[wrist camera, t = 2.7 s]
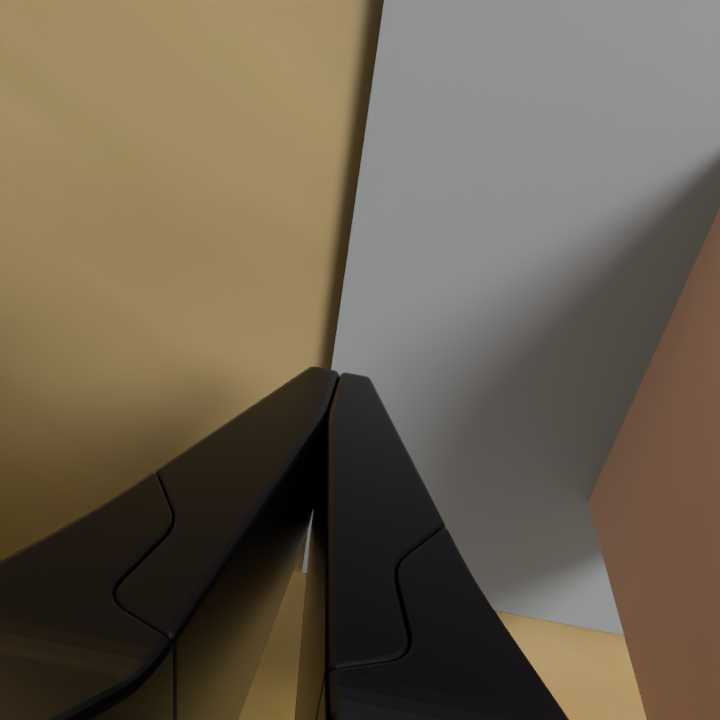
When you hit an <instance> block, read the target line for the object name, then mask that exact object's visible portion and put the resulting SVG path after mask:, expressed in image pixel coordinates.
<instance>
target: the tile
mask: <svg viewBox="0 0 720 720" xmlns="http://www.w3.org/2000/svg"><path fill="white" fill-rule="evenodd" d="M588 504H589V508H590V512H591V515H592V519H593V523H594V526H595V530H596V534H597V538H598V541H599V545H600V549H601V552H602V556H603V560H604V563H605V567H606V571H607V574H608V578H609V582H610V585H611V589H612V593H613V596H614V600H615V604H616V607H617V611H618V615H619V618H620V622H621V626H622V629H623V633H624V637H625V640H626V644H627V648H628V651H629V655H630V659H631V662H632V666H633V670H634V673H635V677H636V681H637V684H638V688H639V692H640V695H641V699H642V703H643V707H644V710H645V714H646V718H647V720H720V208H719V210H718V212H717V215H716V217H715V219H714V221H713V224H712V226H711V228H710V230H709V233H708V235H707V237H706V239H705V241H704V244H703V246H702V248H701V250H700V253H699V255H698V257H697V259H696V262H695V264H694V266H693V268H692V271H691V273H690V275H689V277H688V279H687V282H686V284H685V286H684V288H683V291H682V293H681V295H680V297H679V300H678V302H677V304H676V306H675V309H674V311H673V313H672V315H671V317H670V320H669V322H668V324H667V326H666V329H665V331H664V333H663V335H662V338H661V340H660V342H659V344H658V346H657V349H656V351H655V353H654V355H653V358H652V360H651V362H650V364H649V367H648V369H647V371H646V373H645V376H644V378H643V380H642V382H641V384H640V387H639V389H638V391H637V393H636V396H635V398H634V400H633V402H632V405H631V407H630V409H629V411H628V414H627V416H626V418H625V420H624V422H623V425H622V427H621V429H620V431H619V434H618V436H617V438H616V440H615V443H614V445H613V447H612V449H611V451H610V454H609V456H608V458H607V460H606V463H605V465H604V467H603V469H602V472H601V474H600V476H599V478H598V481H597V483H596V485H595V487H594V489H593V492H592V494H591V496H590V498H589V501H588Z"/></svg>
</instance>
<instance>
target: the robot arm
mask: <svg viewBox="0 0 720 720" xmlns="http://www.w3.org/2000/svg"><path fill="white" fill-rule="evenodd" d="M312 514H313V516H312ZM311 517H312V523H311V532H310V540H309V552H308V565H307V577H306V589H305V601H304V613H303V625H302V637H301V649H300V661H299V673H298V685H297V697H296V709H295V720H569V719H568V718H567V716H566V715H565V713H564V712H563V710H562V709H561V707H560V706H559V705H558V703H557V702H556V700H555V699H554V697H553V696H552V694H551V693H550V691H549V690H548V689H547V687H546V686H545V684H544V683H543V681H542V680H541V678H540V677H539V675H538V674H537V672H536V671H535V670H534V668H533V667H532V665H531V664H530V662H529V661H528V659H527V658H526V656H525V655H524V654H523V652H522V651H521V649H520V648H519V646H518V645H517V643H516V642H515V640H514V639H513V637H512V636H511V635H510V633H509V632H508V630H507V629H506V627H505V626H504V624H503V623H502V621H501V620H500V618H499V617H498V615H497V614H496V612H495V611H494V609H493V608H492V606H491V605H490V603H489V601H488V600H487V598H486V597H485V595H484V594H483V592H482V591H481V589H480V587H479V586H478V584H477V583H476V581H475V579H474V577H473V576H472V574H471V572H470V570H469V568H468V567H467V565H466V563H465V561H464V559H463V558H462V556H461V554H460V552H459V551H458V549H457V547H456V545H455V543H454V541H453V539H452V537H451V535H450V533H449V531H448V530H447V529H446V528H445V523H444V521H443V520H442V518H441V516H440V514H439V512H438V510H437V508H436V506H435V504H434V502H433V500H432V498H431V496H430V494H429V492H428V490H427V488H426V486H425V484H424V482H423V481H422V479H421V477H420V475H419V473H418V471H417V469H416V467H415V465H414V463H413V461H412V459H411V457H410V455H409V453H408V451H407V449H406V447H405V445H404V443H403V442H402V440H401V438H400V436H399V434H398V432H397V430H396V428H395V426H394V424H393V422H392V420H391V418H390V416H389V414H388V412H387V410H386V408H385V406H384V404H383V402H382V401H381V399H380V397H379V395H378V393H377V391H376V389H375V387H374V385H373V383H372V381H371V379H370V378H369V377H367V376H363V375H357V374H352V373H342V374H341V375H340V377H339V373H338V372H337V371H335V370H330V369H325V368H319V367H310V368H308V369H306V370H305V371H303V372H302V373H300V374H299V375H297V376H296V377H295V378H293V379H292V380H290V381H289V382H287V383H286V384H284V385H283V386H281V387H280V388H278V389H277V390H275V391H274V392H272V393H271V394H269V395H268V396H266V397H265V398H263V399H262V400H260V401H259V402H257V403H256V404H254V405H253V406H251V407H250V408H248V409H247V410H245V411H244V412H242V413H241V414H239V415H238V416H236V417H235V418H233V419H232V420H230V421H229V422H227V423H226V424H224V425H223V426H221V427H220V428H218V429H217V430H215V431H214V432H212V433H211V434H209V435H208V436H206V437H205V438H203V439H202V440H200V441H199V442H197V443H196V444H194V445H193V446H192V447H190V448H189V449H187V450H186V451H184V452H183V453H181V454H180V455H178V456H177V457H175V458H174V459H172V460H171V461H169V462H168V463H166V464H165V465H163V466H162V467H160V468H159V469H157V471H156V473H151V474H149V475H148V476H146V477H145V478H143V479H142V480H140V481H139V482H137V483H136V484H134V485H133V486H131V487H130V488H128V489H127V490H125V491H123V492H122V493H120V494H119V495H117V496H116V497H114V498H112V499H111V500H109V501H108V502H106V503H104V504H103V505H101V506H100V507H98V508H96V509H95V510H93V511H91V512H89V513H88V514H86V515H84V516H82V517H81V518H79V519H77V520H75V521H73V522H72V523H70V524H68V525H66V526H64V527H63V528H61V529H59V530H57V531H56V532H54V533H52V534H50V535H48V536H46V537H44V538H43V539H41V540H39V541H37V542H35V543H33V544H31V545H29V546H28V547H26V548H24V549H22V550H20V551H18V552H16V553H14V554H13V555H11V556H9V557H7V558H5V559H3V560H1V561H0V720H238V718H239V716H240V713H241V710H242V708H243V705H244V702H245V699H246V697H247V694H248V691H249V689H250V686H251V683H252V680H253V678H254V675H255V672H256V670H257V667H258V664H259V662H260V659H261V656H262V653H263V651H264V648H265V645H266V643H267V640H268V637H269V634H270V632H271V629H272V626H273V624H274V621H275V618H276V615H277V613H278V610H279V607H280V605H281V602H282V599H283V597H284V594H285V591H286V588H287V586H288V583H289V580H290V578H291V575H292V572H293V569H294V567H295V564H296V561H297V559H298V556H299V553H300V550H301V548H302V545H303V542H304V540H305V537H306V534H307V531H308V528H309V525H310V521H311Z"/></svg>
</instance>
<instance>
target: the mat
mask: <svg viewBox="0 0 720 720" xmlns="http://www.w3.org/2000/svg"><path fill="white" fill-rule="evenodd" d="M719 208H720V0H384V4H383V11H382V18H381V25H380V32H379V39H378V46H377V53H376V60H375V67H374V74H373V81H372V88H371V95H370V102H369V109H368V116H367V123H366V130H365V137H364V144H363V151H362V158H361V164H360V171H359V178H358V185H357V192H356V199H355V206H354V213H353V220H352V227H351V234H350V241H349V248H348V255H347V262H346V269H345V276H344V283H343V290H342V297H341V304H340V311H339V318H338V325H337V332H336V339H335V346H334V352H333V359H332V366H331V370H335V371H337V372H338V373H339V377H340V375H341V374H342V373H352V374H357V375H363V376H367V377H369V378H370V379H371V381H372V383H373V385H374V387H375V389H376V391H377V393H378V395H379V397H380V399H381V401H382V402H383V404H384V406H385V408H386V410H387V412H388V414H389V416H390V418H391V420H392V422H393V424H394V426H395V428H396V430H397V432H398V434H399V436H400V438H401V440H402V442H403V443H404V445H405V447H406V449H407V451H408V453H409V455H410V457H411V459H412V461H413V463H414V465H415V467H416V469H417V471H418V473H419V475H420V477H421V479H422V481H423V482H424V484H425V486H426V488H427V490H428V492H429V494H430V496H431V498H432V500H433V502H434V504H435V506H436V508H437V510H438V512H439V514H440V516H441V518H442V520H443V521H444V523H445V528H446V529H447V530H448V531H449V533H450V535H451V537H452V539H453V541H454V543H455V545H456V547H457V549H458V551H459V552H460V554H461V556H462V558H463V559H464V561H465V563H466V565H467V567H468V568H469V570H470V572H471V574H472V576H473V577H474V579H475V581H476V583H477V584H478V586H479V587H480V589H481V591H482V592H483V594H484V595H485V597H486V598H487V600H488V601H489V603H490V605H491V606H492V608H493V609H494V610H496V611H501V612H506V613H512V614H517V615H522V616H527V617H532V618H537V619H542V620H547V621H553V622H558V623H563V624H568V625H573V626H578V627H583V628H588V629H594V630H599V631H604V632H609V633H614V634H619V635H624V633H623V629H622V626H621V622H620V618H619V615H618V611H617V607H616V604H615V600H614V596H613V593H612V589H611V585H610V582H609V578H608V574H607V571H606V567H605V563H604V560H603V556H602V552H601V549H600V545H599V541H598V538H597V534H596V530H595V526H594V523H593V519H592V515H591V512H590V508H589V504H588V501H589V498H590V496H591V494H592V492H593V489H594V487H595V485H596V483H597V481H598V478H599V476H600V474H601V472H602V469H603V467H604V465H605V463H606V460H607V458H608V456H609V454H610V451H611V449H612V447H613V445H614V443H615V440H616V438H617V436H618V434H619V431H620V429H621V427H622V425H623V422H624V420H625V418H626V416H627V414H628V411H629V409H630V407H631V405H632V402H633V400H634V398H635V396H636V393H637V391H638V389H639V387H640V384H641V382H642V380H643V378H644V376H645V373H646V371H647V369H648V367H649V364H650V362H651V360H652V358H653V355H654V353H655V351H656V349H657V346H658V344H659V342H660V340H661V338H662V335H663V333H664V331H665V329H666V326H667V324H668V322H669V320H670V317H671V315H672V313H673V311H674V309H675V306H676V304H677V302H678V300H679V297H680V295H681V293H682V291H683V288H684V286H685V284H686V282H687V279H688V277H689V275H690V273H691V271H692V268H693V266H694V264H695V262H696V259H697V257H698V255H699V253H700V250H701V248H702V246H703V244H704V241H705V239H706V237H707V235H708V233H709V230H710V228H711V226H712V224H713V221H714V219H715V217H716V215H717V212H718V210H719ZM312 516H313V514H312ZM311 523H312V517H311V521H310V525H309V528H308V534H307V541H306V547H305V554H304V561H303V568H302V573H306V574H307V565H308V552H309V540H310V532H311Z"/></svg>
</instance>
